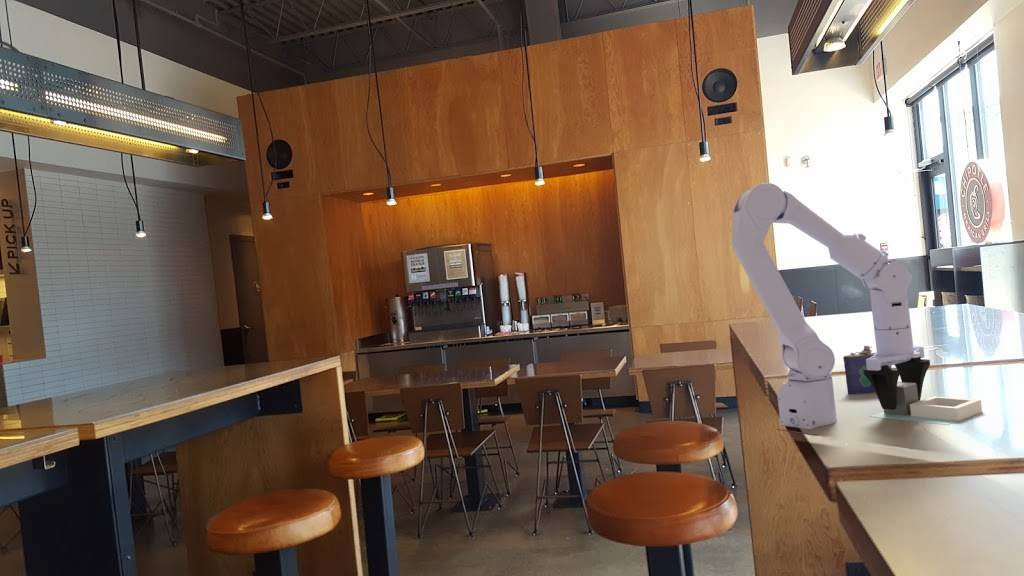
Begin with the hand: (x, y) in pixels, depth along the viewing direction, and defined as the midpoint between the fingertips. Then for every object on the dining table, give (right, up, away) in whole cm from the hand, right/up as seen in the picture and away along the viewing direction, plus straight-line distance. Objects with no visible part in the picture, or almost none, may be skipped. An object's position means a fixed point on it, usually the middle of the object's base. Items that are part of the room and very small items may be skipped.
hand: (901, 404), depth 121 cm
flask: (+6, -2, +20) cm, 21 cm away
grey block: (0, -1, 0) cm, 1 cm away
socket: (+5, -1, -4) cm, 7 cm away
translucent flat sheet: (+3, -2, -3) cm, 4 cm away
